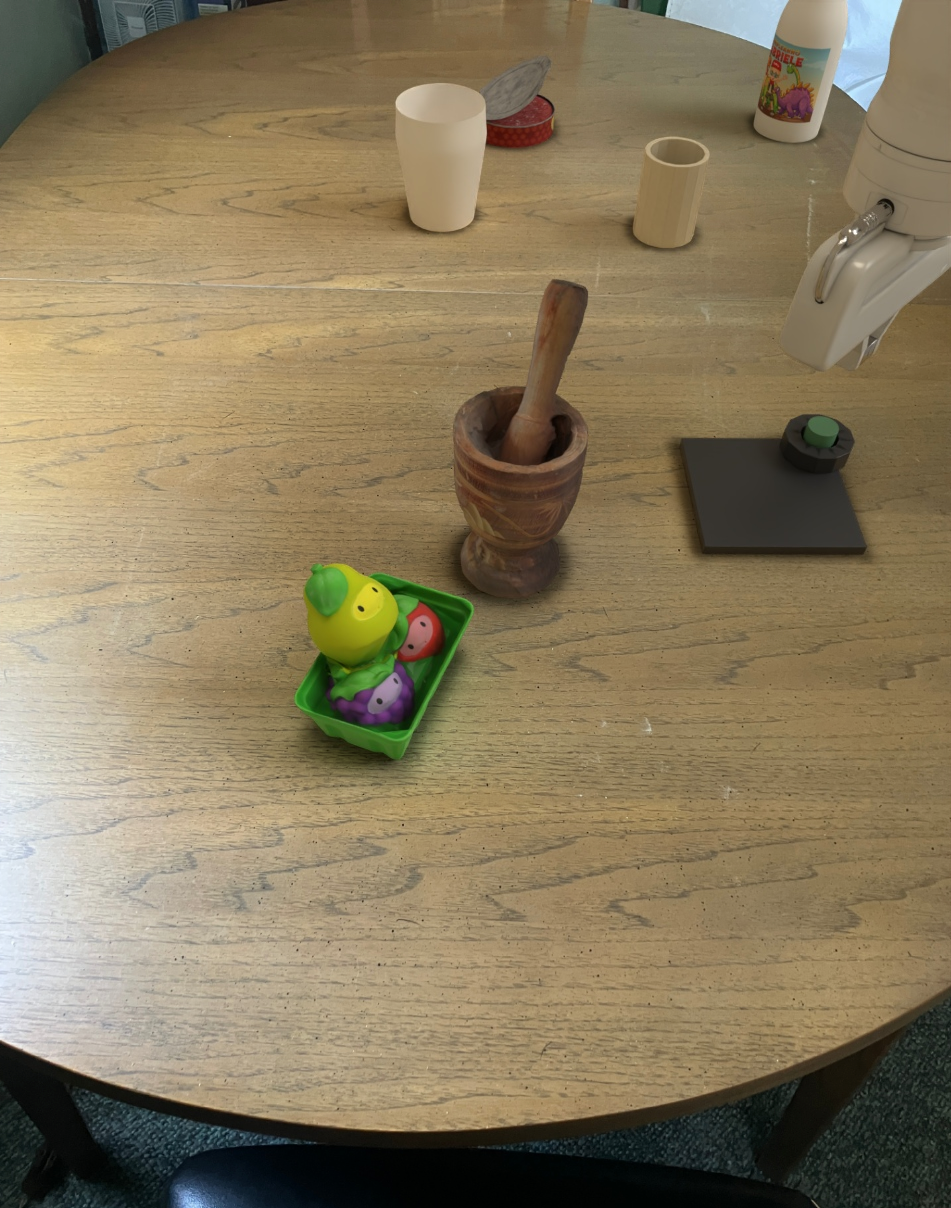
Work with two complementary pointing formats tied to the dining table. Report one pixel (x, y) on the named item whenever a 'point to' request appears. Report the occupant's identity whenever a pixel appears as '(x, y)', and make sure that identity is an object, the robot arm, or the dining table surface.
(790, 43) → the milk bottle
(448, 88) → the cup
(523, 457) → the mortar and pestle
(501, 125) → the canned food
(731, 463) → the scale
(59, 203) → the dining table surface
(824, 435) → the button
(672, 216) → the tan hollow cylinder
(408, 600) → the fruit basket
